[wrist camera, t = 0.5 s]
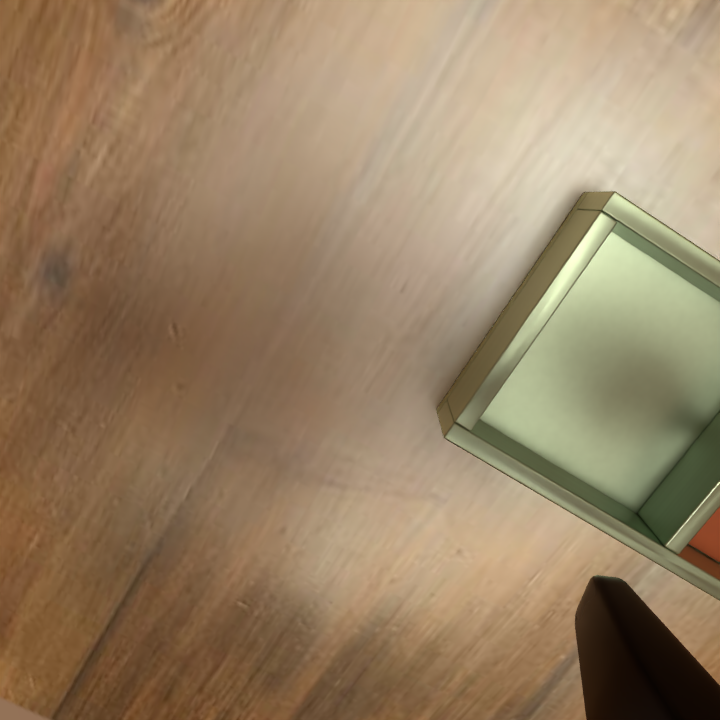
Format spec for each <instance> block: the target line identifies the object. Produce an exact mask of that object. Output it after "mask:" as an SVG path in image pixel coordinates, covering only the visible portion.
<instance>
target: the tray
mask: <svg viewBox="0 0 720 720" xmlns="http://www.w3.org/2000/svg"><path fill="white" fill-rule="evenodd" d="M436 411H437V414H438V418H439V422H440V425H441V429H442V433H443V437H444V438H445V439H446V440H448V441H450V442H451V443H453V444H455V445H456V446H458V447H460V448H462V449H463V450H465V451H467V452H468V453H470V454H472V455H473V456H475V457H477V458H479V459H480V460H482V461H484V462H485V463H487V464H489V465H490V466H492V467H494V468H496V469H497V470H499V471H501V472H502V473H504V474H506V475H507V476H509V477H511V478H513V479H514V480H516V481H518V482H519V483H521V484H523V485H524V486H526V487H528V488H529V489H531V490H533V491H535V492H536V493H538V494H540V495H541V496H543V497H545V498H546V499H548V500H550V501H552V502H553V503H555V504H557V505H558V506H560V507H562V508H563V509H565V510H567V511H569V512H570V513H572V514H574V515H575V516H577V517H579V518H580V519H582V520H584V521H585V522H587V523H589V524H591V525H592V526H594V527H596V528H597V529H599V530H601V531H602V532H604V533H606V534H608V535H609V536H611V537H613V538H614V539H616V540H618V541H619V542H621V543H623V544H625V545H626V546H628V547H630V548H631V549H633V550H635V551H636V552H638V553H640V554H641V555H643V556H645V557H647V558H648V559H650V560H652V561H653V562H655V563H657V564H658V565H660V566H662V567H664V568H665V569H667V570H669V571H670V572H672V573H674V574H675V575H677V576H679V577H681V578H682V579H684V580H686V581H687V582H689V583H691V584H692V585H694V586H696V587H697V588H699V589H701V590H703V591H704V592H706V593H708V594H709V595H711V596H713V597H714V598H716V599H718V600H720V261H719V260H718V259H716V258H715V257H713V256H712V255H710V254H709V253H707V252H706V251H704V250H703V249H701V248H700V247H698V246H697V245H695V244H694V243H692V242H691V241H689V240H688V239H686V238H685V237H683V236H682V235H680V234H679V233H677V232H676V231H674V230H673V229H671V228H670V227H668V226H667V225H665V224H664V223H662V222H661V221H659V220H658V219H656V218H655V217H653V216H652V215H650V214H649V213H647V212H646V211H644V210H642V209H641V208H639V207H638V206H636V205H635V204H633V203H632V202H630V201H629V200H627V199H626V198H624V197H623V196H621V195H620V194H618V193H617V192H615V191H610V192H584V193H583V195H582V196H581V197H580V199H579V200H578V202H577V203H576V205H575V206H574V208H573V209H572V211H571V212H570V214H569V215H568V217H567V218H566V220H565V221H564V222H563V224H562V225H561V227H560V228H559V230H558V231H557V233H556V234H555V236H554V237H553V239H552V240H551V242H550V243H549V244H548V246H547V247H546V249H545V250H544V252H543V253H542V255H541V256H540V258H539V259H538V261H537V262H536V264H535V265H534V267H533V268H532V269H531V271H530V272H529V274H528V275H527V277H526V278H525V280H524V281H523V283H522V284H521V286H520V287H519V289H518V290H517V292H516V293H515V294H514V296H513V297H512V299H511V300H510V302H509V303H508V305H507V306H506V308H505V309H504V311H503V312H502V314H501V315H500V317H499V318H498V319H497V321H496V322H495V324H494V325H493V327H492V328H491V330H490V331H489V333H488V334H487V336H486V337H485V339H484V340H483V341H482V343H481V344H480V346H479V347H478V349H477V350H476V352H475V353H474V355H473V356H472V358H471V359H470V361H469V362H468V364H467V365H466V366H465V368H464V369H463V371H462V372H461V374H460V375H459V377H458V378H457V380H456V381H455V383H454V384H453V386H452V387H451V389H450V390H449V391H448V393H447V394H446V396H445V397H444V399H443V400H442V402H441V403H440V405H439V406H438V408H437V409H436Z"/></svg>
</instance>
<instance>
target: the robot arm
mask: <svg viewBox="0 0 720 720" xmlns="http://www.w3.org/2000/svg"><path fill="white" fill-rule="evenodd" d="M575 630H576V638H577V646H578V654H579V663H580V671H581V679H582V687H583V695H584V703H585V711H586V719H587V720H720V685H719V684H718V683H717V682H716V681H715V680H714V679H713V678H712V677H711V675H710V674H709V673H708V672H707V671H706V670H705V669H704V668H703V667H702V666H701V664H700V663H699V662H698V661H697V660H696V659H695V658H694V657H693V656H692V655H691V653H690V652H689V651H688V650H687V649H686V648H685V647H684V646H683V645H682V644H681V642H680V641H679V640H678V639H677V638H676V637H675V636H674V635H673V634H672V633H671V631H670V630H669V629H668V628H667V627H666V626H665V625H664V624H663V623H662V622H661V620H660V619H659V618H658V617H657V616H656V615H655V614H654V613H653V612H652V611H651V609H650V608H649V607H648V606H647V605H646V604H645V603H644V602H643V601H642V600H641V598H640V597H639V596H638V595H637V594H636V593H635V592H634V591H633V590H632V589H631V587H630V586H629V585H628V584H627V583H626V582H625V581H623V580H622V579H620V578H616V577H608V576H599V575H596V576H593V577H592V578H591V579H590V581H589V583H588V585H587V587H586V589H585V592H584V594H583V596H582V599H581V601H580V603H579V605H578V608H577V611H576V615H575Z"/></svg>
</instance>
